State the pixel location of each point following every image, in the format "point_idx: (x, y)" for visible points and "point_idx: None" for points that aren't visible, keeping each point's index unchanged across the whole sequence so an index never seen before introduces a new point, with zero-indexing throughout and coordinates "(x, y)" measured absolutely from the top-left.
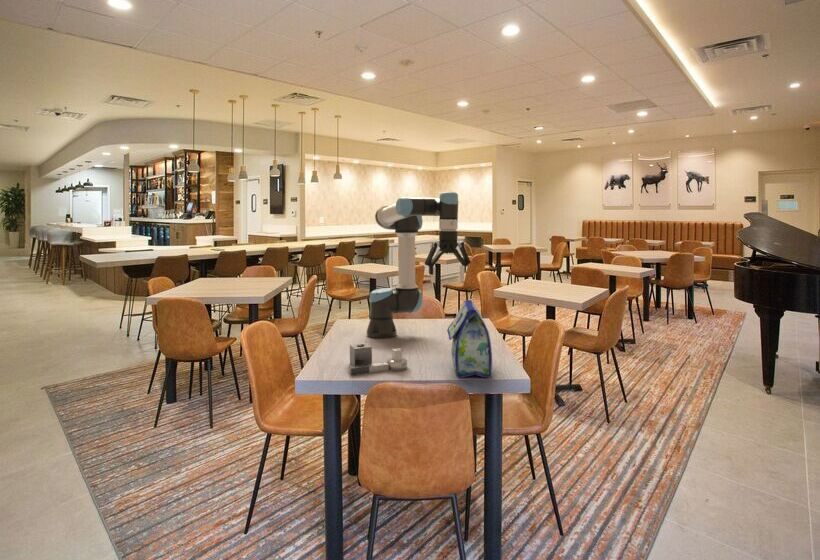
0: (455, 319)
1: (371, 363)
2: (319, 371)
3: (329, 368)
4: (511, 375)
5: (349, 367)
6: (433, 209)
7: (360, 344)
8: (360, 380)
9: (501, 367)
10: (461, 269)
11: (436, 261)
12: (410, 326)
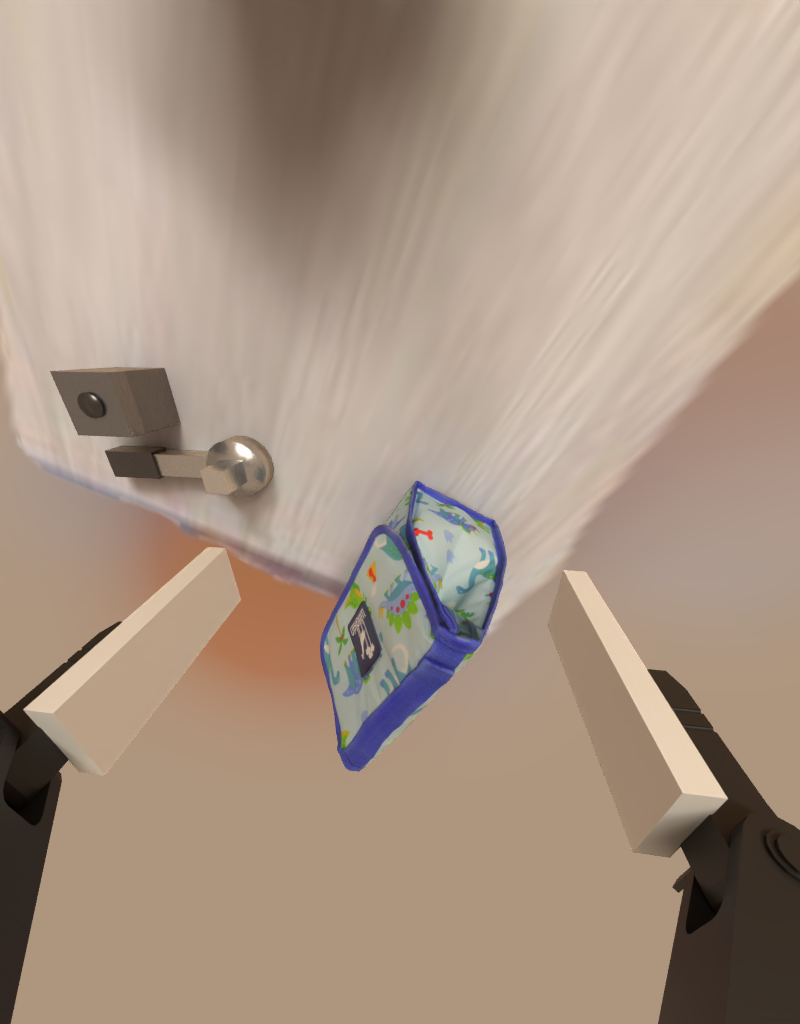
0: (377, 599)
1: (172, 424)
2: (43, 403)
3: None
4: None
5: (110, 459)
6: None
7: (88, 398)
8: (155, 509)
9: None
10: (615, 739)
11: (23, 909)
12: None
